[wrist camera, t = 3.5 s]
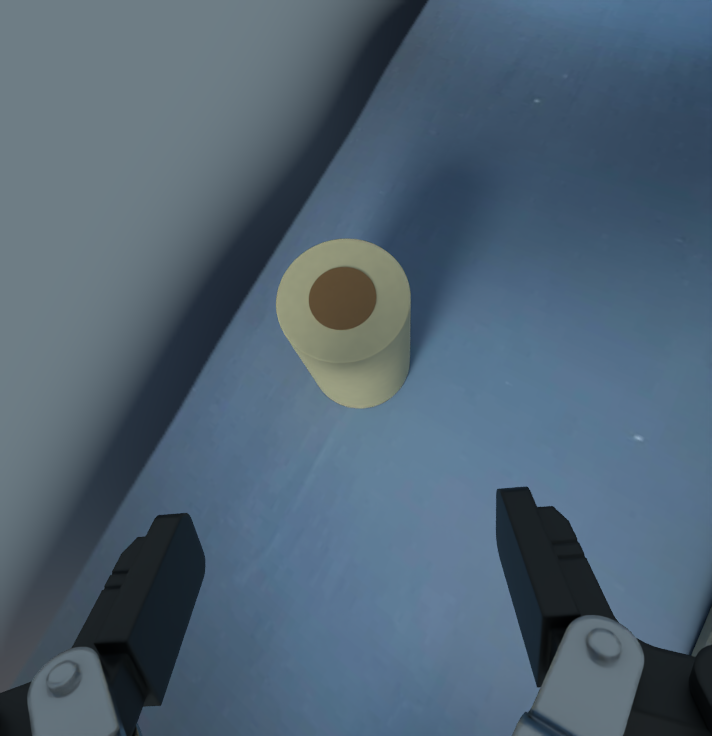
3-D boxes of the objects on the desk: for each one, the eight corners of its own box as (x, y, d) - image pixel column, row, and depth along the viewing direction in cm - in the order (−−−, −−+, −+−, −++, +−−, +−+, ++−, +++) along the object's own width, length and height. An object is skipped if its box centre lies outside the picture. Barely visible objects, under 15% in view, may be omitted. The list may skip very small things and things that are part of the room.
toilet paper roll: (320, 417, 27) (285, 375, 19) (305, 325, 28) (267, 252, 20) (419, 397, 26) (424, 346, 19) (398, 306, 28) (395, 224, 20)
